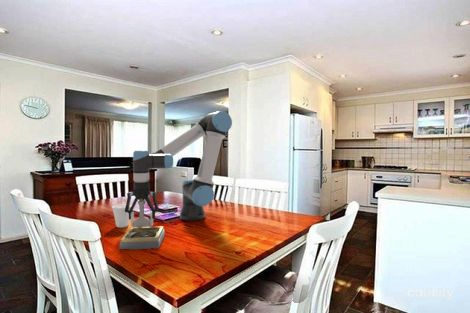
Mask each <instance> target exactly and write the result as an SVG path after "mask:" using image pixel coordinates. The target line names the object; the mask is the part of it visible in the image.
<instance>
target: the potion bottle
mask: <svg viewBox="0 0 470 313" xmlns="http://www.w3.org/2000/svg"><path fill="white" fill-rule="evenodd" d="M137 204H138V206H139V216H138V217H136V218H134V223H133V226H132V228H133V227H152V226H151V219H150V218H149V217H147V216H145V205H146V201H145V200H143V199H140V200H138V201H137Z"/></svg>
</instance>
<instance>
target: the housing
mask: <svg viewBox="0 0 470 313" xmlns="http://www.w3.org/2000/svg"><path fill="white" fill-rule="evenodd" d="M165 232H166V231H165V228H164V226H151V227H133V226H132V227H130V229H129V230H128V231H127V232H126V233H125V234H124V235H123V236H122V237H121V239H120V240H121V241H120V242H119V250H120V249H129V250H146V249H147V250H151V248H153V249H160V247H161V244H162V242H163V240H164V237H165V236H166V235H165Z"/></svg>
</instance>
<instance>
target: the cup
mask: <svg viewBox="0 0 470 313" xmlns="http://www.w3.org/2000/svg"><path fill="white" fill-rule="evenodd" d="M131 206H132V204H131V203H130V206H129V210H130V208H131ZM125 207H126V203H121V204H115V205H113V206H112V207H111V209H112V211H113V217H114V220H115V221H114V222H115V226H116V227H117V228H120V229H121V228H125V227H128V226H129V224H130V220H129V213H127V212H125Z"/></svg>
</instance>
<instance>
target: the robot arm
mask: <svg viewBox="0 0 470 313" xmlns="http://www.w3.org/2000/svg"><path fill="white" fill-rule="evenodd" d="M232 126H233V120H232V117H231V115H230V114H229V113H228V112H227V111H225V110H217V111H215V112H210V113H208V114H206V115H205V116H204V117H202V118H201V119H200V120H198V121H197V122H195V124H194V126H193V127H191V128H189V129H188V130H186V131H185V132H184V133H182V134H181V135H179V136H178V137H176V138H175V139H173V140H172V141H171V142H169V143H167V144H165V145H164V146H163V147H161V148H160V149H158V150H157V151H155V152H152V153H150V151H149V150H134V151H133V152H132V153H133V154H132V155H133V156H132V166H133V168H132V169H133V170H132V171H133V175H132V176H133V181H134V182H133V191H129V192H127V193H126V195H127V198H126V203H125V204H126V207H125V212H127V213H129V221H130V227H133V223H134V221H135V212H134V209H135V207H136V205H137V204H138V201H139V200H140V199H143V200H145V203H146V204H147V205H148V207H149V209H150V223H151V227H153V225H154V219H156V212H158V211H159V209H160V208H159V204H158V200H157V195H156V194H157V191H152V190H150V170H154V169H155V170H157V169H167V170H168V169H171V168H173V167H174V157H175V156H176V155H178V153H180V152H181V151H183V150H184V149H187V147H189V146H191V145H192V144H193V143H194V142H196V141H198V140H199V139H200V138H205V137H206V136H207V138H206V141H205V143H204V144H205V145H204V149H203V152H202V155H201V156H202V157H201V160H200V163H199V167H198V170H197V171H198V172H197V175H196V177H194V178H193V179H188V180H187V179H185V180H183V181H182V184H181V185H182V186H181V187H182V205H181V208H180V209H181V210H180V211H179V212H180V213H179V219H180V220H183V221H189V222H190V221H199V220H203V219H205V217H206V212H205V209H204V207H205V206H208V205H210V204H211V203H212V201H213V200H214V197H215V192H214V189H213V188H214V185H215V183H214V181H213V178H214V173H215V169H216V165H217V161H218V157H219V153H220V151H221V150H220V149H221V146H222V141H223V140H224V139H225V138H226V136H227V133H228V131H229V130H230V129H231V128H232ZM132 196H134V199H133V202H132V204H131V200H132ZM149 196H151V197H152V201H153V204H152V201H151V199H150V197H149ZM130 204H131V205H132V206H131V208H130V210H129V206H130Z"/></svg>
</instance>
